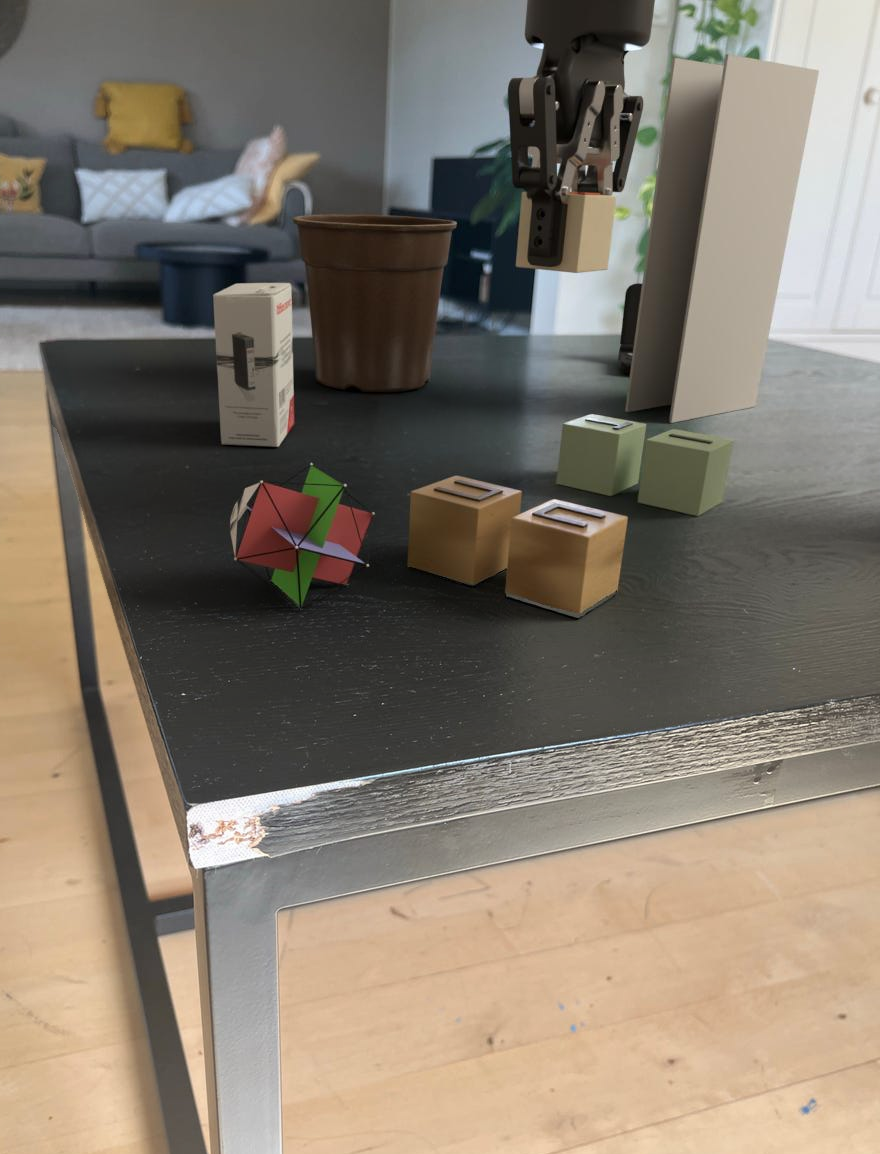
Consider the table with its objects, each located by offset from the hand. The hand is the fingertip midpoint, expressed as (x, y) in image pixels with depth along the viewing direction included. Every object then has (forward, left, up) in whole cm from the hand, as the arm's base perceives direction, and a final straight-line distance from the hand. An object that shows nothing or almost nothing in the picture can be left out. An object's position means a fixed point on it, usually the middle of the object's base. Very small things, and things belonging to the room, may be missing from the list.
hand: (563, 262), depth 65 cm
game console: (-27, -51, -16) cm, 59 cm away
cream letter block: (0, 0, 0) cm, 0 cm away
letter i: (-10, +3, -15) cm, 18 cm away
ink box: (+21, -14, -16) cm, 30 cm away
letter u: (+2, +20, -15) cm, 25 cm away
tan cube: (+7, +16, -15) cm, 23 cm away
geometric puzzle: (+16, +20, -16) cm, 30 cm away
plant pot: (+11, -38, -16) cm, 43 cm away
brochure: (-21, -29, -16) cm, 39 cm away
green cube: (-5, -2, -15) cm, 16 cm away
